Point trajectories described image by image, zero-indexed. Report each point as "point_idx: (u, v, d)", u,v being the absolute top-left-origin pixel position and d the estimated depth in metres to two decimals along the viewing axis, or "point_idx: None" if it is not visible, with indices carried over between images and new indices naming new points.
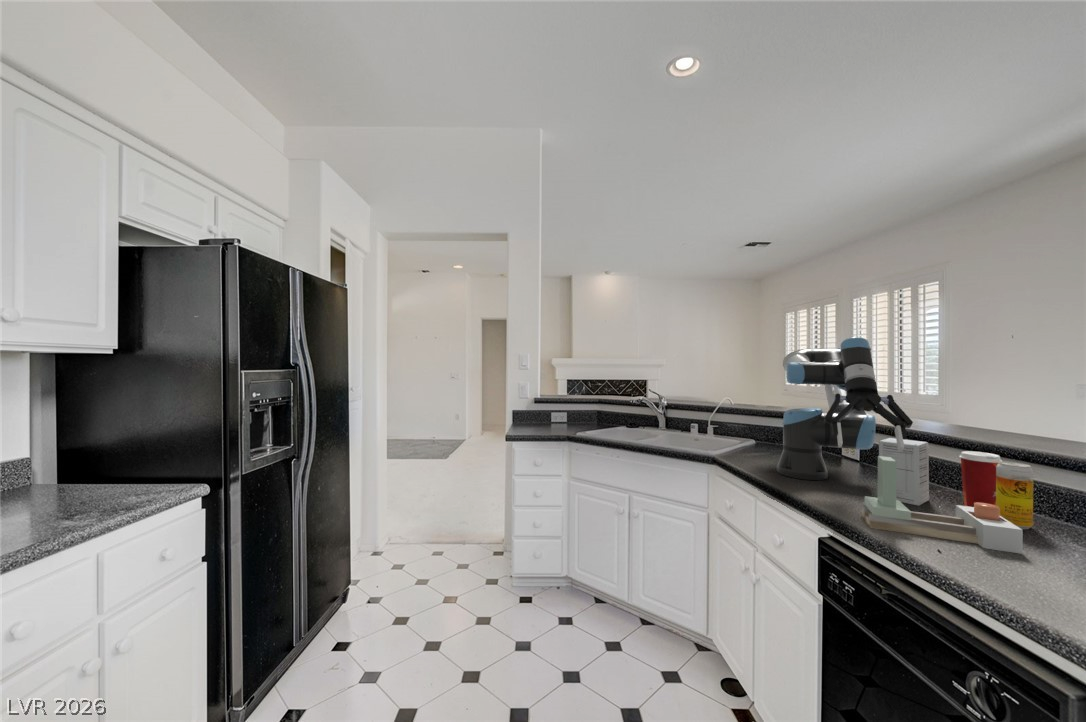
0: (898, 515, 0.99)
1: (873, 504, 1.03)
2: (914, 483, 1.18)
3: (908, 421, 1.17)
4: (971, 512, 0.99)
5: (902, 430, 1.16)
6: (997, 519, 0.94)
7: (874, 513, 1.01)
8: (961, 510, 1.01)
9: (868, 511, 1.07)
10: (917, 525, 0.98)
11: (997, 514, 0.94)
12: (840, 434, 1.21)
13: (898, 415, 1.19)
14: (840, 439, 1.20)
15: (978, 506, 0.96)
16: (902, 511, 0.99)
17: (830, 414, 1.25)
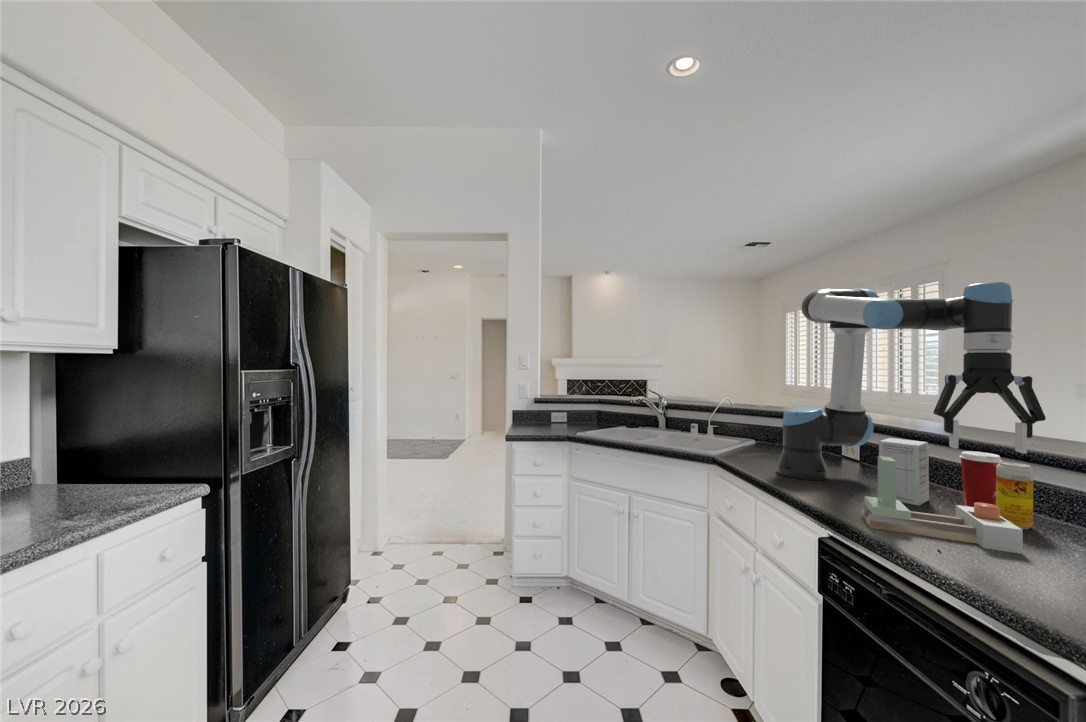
0: (898, 515, 0.99)
1: (873, 504, 1.03)
2: (914, 483, 1.18)
3: (1039, 417, 0.91)
4: (971, 512, 0.99)
5: (1028, 428, 0.92)
6: (997, 519, 0.94)
7: (874, 513, 1.01)
8: (961, 510, 1.01)
9: (868, 511, 1.07)
10: (917, 525, 0.98)
11: (997, 514, 0.94)
12: (956, 436, 0.97)
13: (1028, 404, 0.93)
14: (955, 443, 0.97)
15: (978, 506, 0.96)
16: (902, 511, 0.99)
17: (944, 407, 0.98)
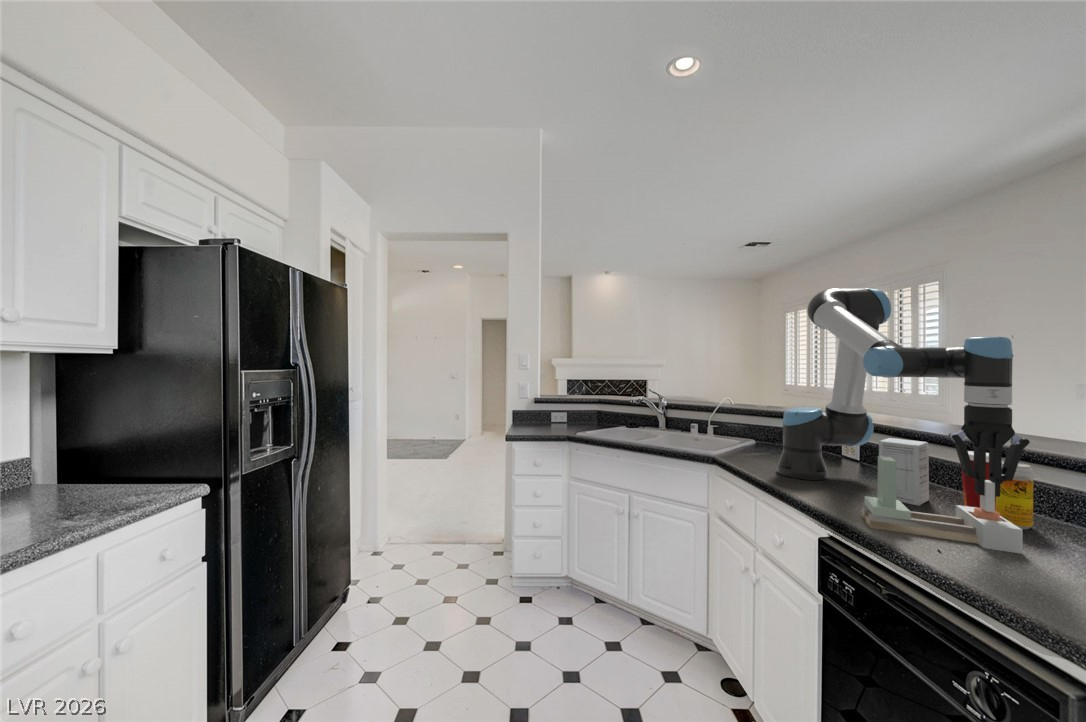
0: (898, 515, 0.99)
1: (873, 504, 1.03)
2: (914, 483, 1.18)
3: (1008, 476, 0.93)
4: (971, 512, 0.99)
5: (996, 487, 0.95)
6: None
7: (874, 513, 1.01)
8: (961, 510, 1.01)
9: (868, 511, 1.07)
10: (917, 525, 0.98)
11: (997, 520, 0.94)
12: (988, 499, 0.95)
13: (1007, 462, 0.94)
14: (987, 506, 0.95)
15: (978, 511, 0.96)
16: (902, 511, 0.99)
17: (970, 467, 0.96)
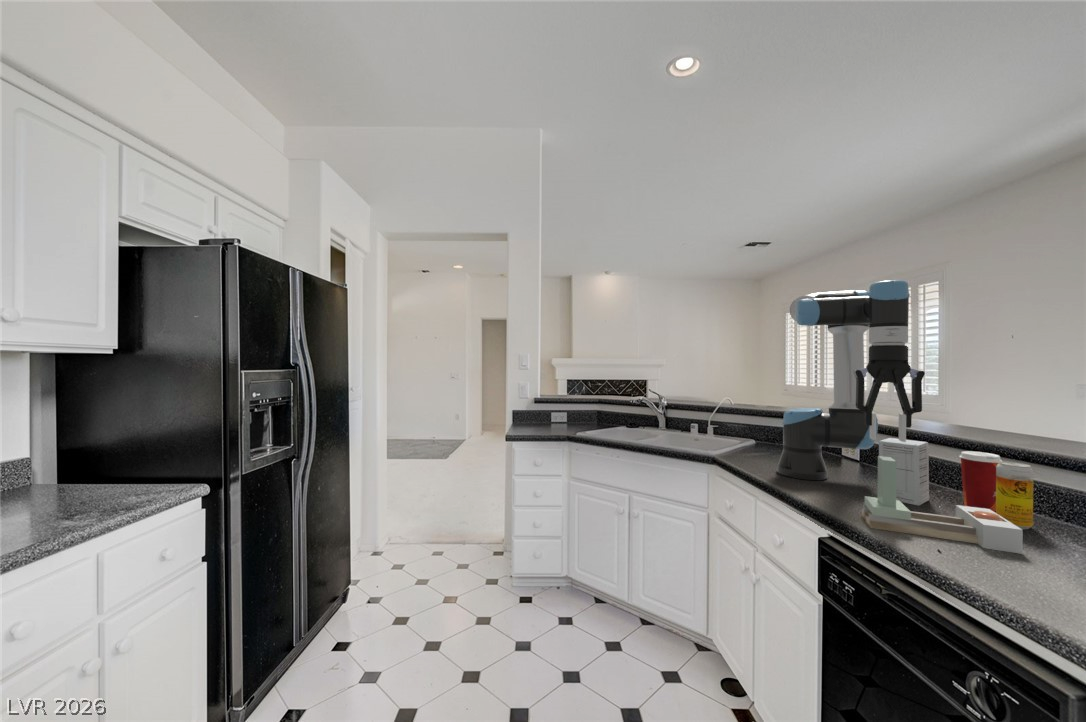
0: (898, 515, 0.99)
1: (873, 504, 1.03)
2: (914, 483, 1.18)
3: (917, 408, 1.00)
4: (971, 512, 0.99)
5: (907, 419, 1.02)
6: None
7: (874, 513, 1.01)
8: (961, 510, 1.01)
9: (868, 511, 1.07)
10: (917, 525, 0.98)
11: None
12: (874, 428, 1.04)
13: (913, 396, 1.02)
14: (873, 435, 1.04)
15: (978, 515, 0.96)
16: (902, 511, 0.99)
17: (862, 401, 1.05)
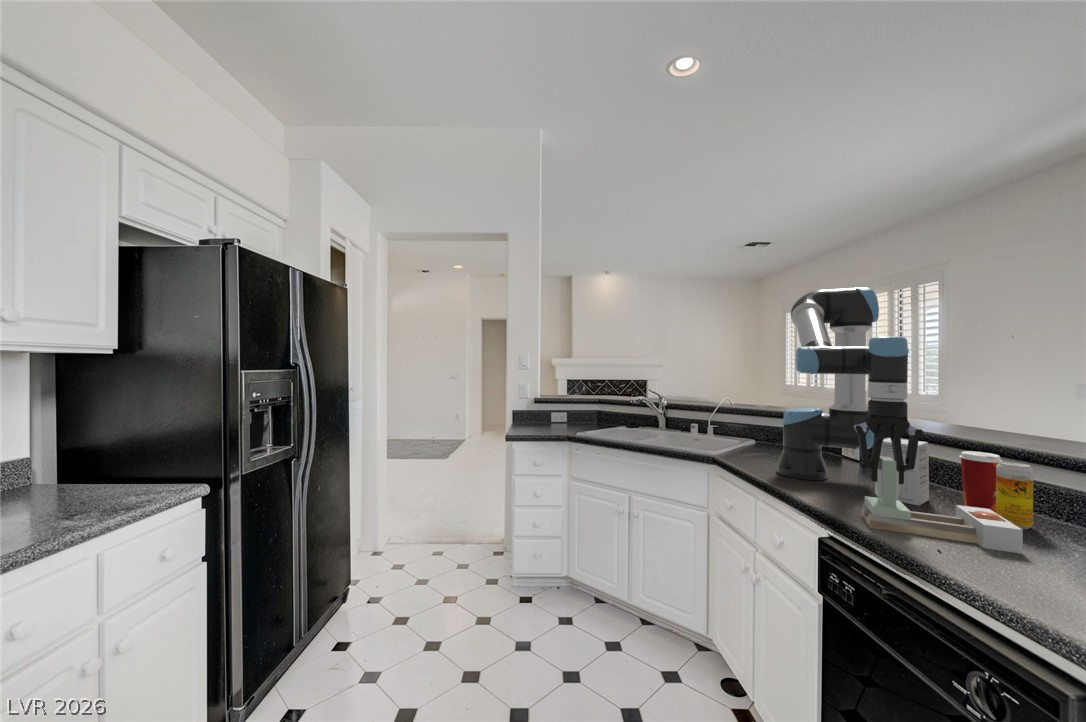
0: (898, 515, 0.99)
1: (873, 504, 1.03)
2: (914, 483, 1.18)
3: (910, 465, 1.01)
4: (971, 512, 0.99)
5: (900, 475, 1.02)
6: None
7: (874, 513, 1.01)
8: (961, 510, 1.01)
9: (868, 511, 1.07)
10: (917, 525, 0.98)
11: None
12: (880, 485, 1.03)
13: (908, 452, 1.02)
14: (879, 491, 1.03)
15: (978, 515, 0.96)
16: (902, 511, 0.99)
17: (866, 456, 1.05)
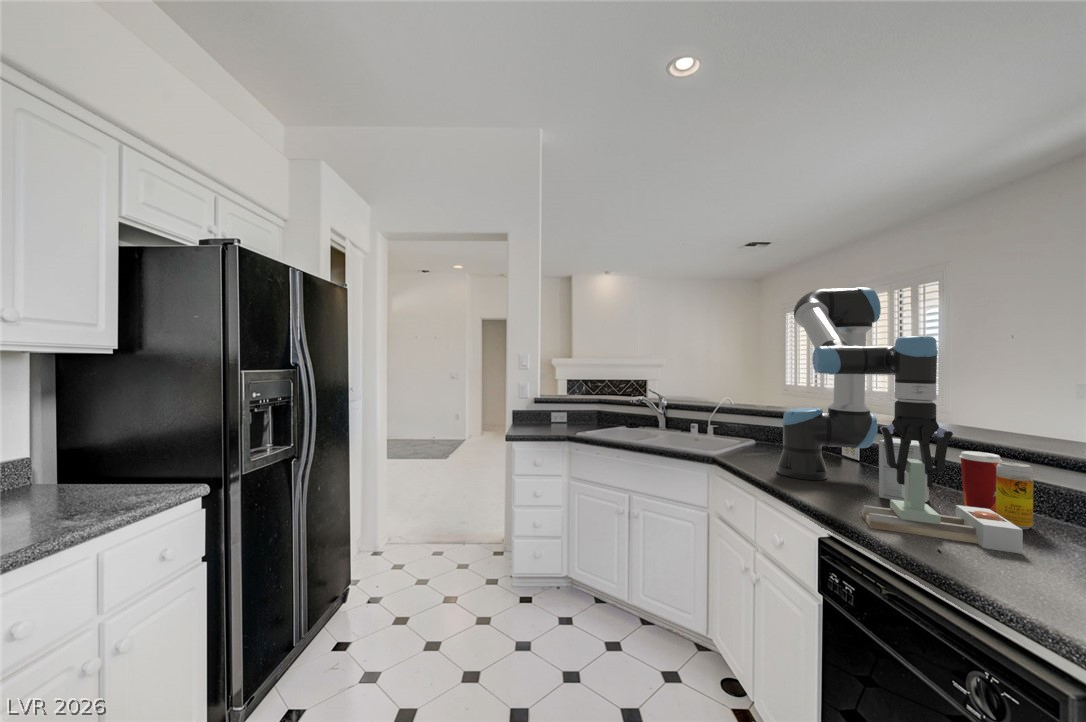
0: (927, 519, 0.97)
1: (900, 507, 1.01)
2: None
3: (939, 468, 0.99)
4: (971, 512, 0.99)
5: (928, 478, 1.00)
6: None
7: (902, 517, 0.99)
8: (961, 510, 1.01)
9: (868, 511, 1.07)
10: (917, 525, 0.98)
11: None
12: (907, 488, 1.01)
13: (937, 455, 1.00)
14: (906, 495, 1.01)
15: (978, 515, 0.96)
16: (931, 515, 0.97)
17: (893, 459, 1.02)
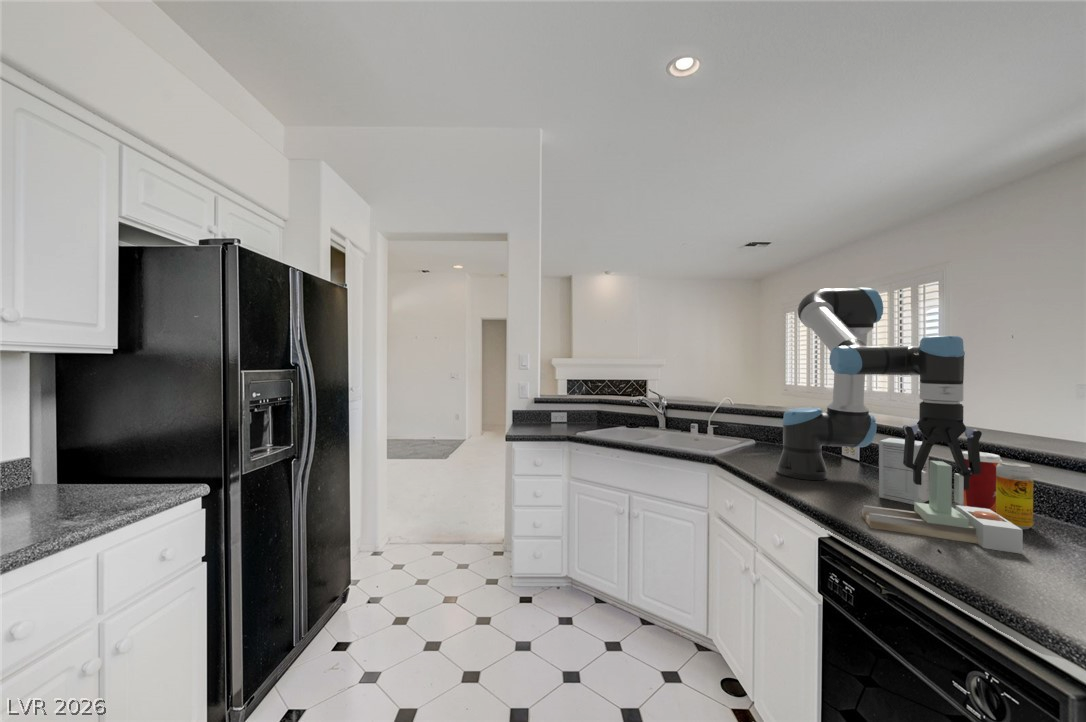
0: (955, 523, 0.95)
1: (926, 511, 0.99)
2: (914, 483, 1.18)
3: (975, 470, 0.96)
4: (971, 512, 0.99)
5: (965, 480, 0.97)
6: None
7: (928, 520, 0.97)
8: (961, 510, 1.01)
9: (868, 511, 1.07)
10: (917, 525, 0.98)
11: None
12: (924, 488, 1.00)
13: (970, 456, 0.97)
14: (923, 495, 1.00)
15: (978, 515, 0.96)
16: (959, 518, 0.95)
17: (911, 459, 1.01)
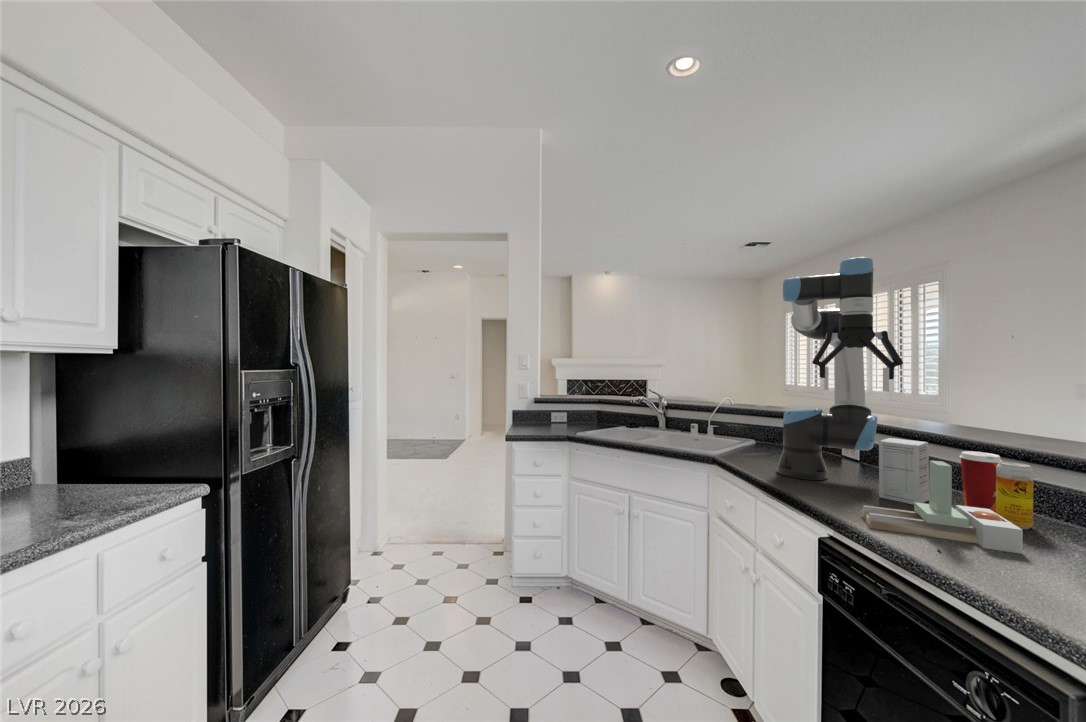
0: (955, 523, 0.95)
1: (926, 511, 0.99)
2: (914, 483, 1.18)
3: (898, 362, 1.13)
4: (971, 512, 0.99)
5: (890, 371, 1.14)
6: None
7: (928, 520, 0.97)
8: (961, 510, 1.01)
9: (868, 511, 1.07)
10: (917, 525, 0.98)
11: None
12: (827, 380, 1.20)
13: (889, 353, 1.15)
14: (826, 386, 1.20)
15: (978, 515, 0.96)
16: (959, 518, 0.95)
17: (819, 357, 1.21)
